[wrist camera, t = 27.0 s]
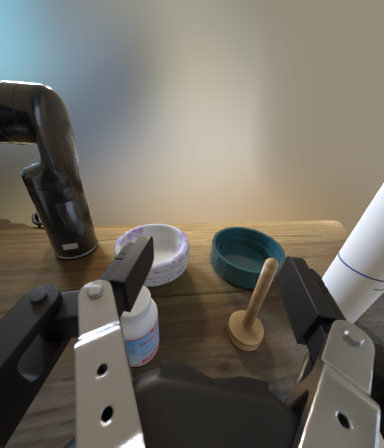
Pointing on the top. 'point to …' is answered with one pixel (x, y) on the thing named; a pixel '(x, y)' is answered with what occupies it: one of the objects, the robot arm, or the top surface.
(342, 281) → the cylindrical container
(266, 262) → the wooden peg on disc
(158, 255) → the paper bowls
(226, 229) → the bowl
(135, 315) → the pill bottle
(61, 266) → the top surface
